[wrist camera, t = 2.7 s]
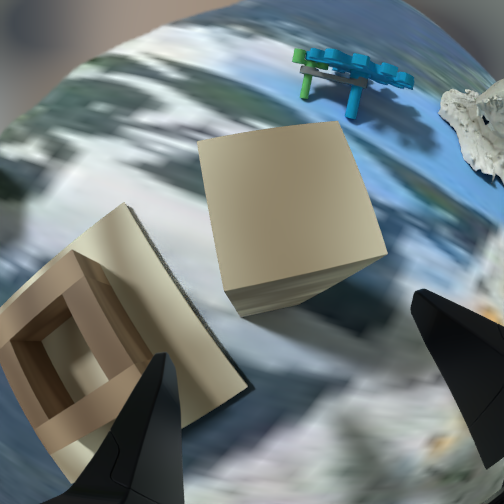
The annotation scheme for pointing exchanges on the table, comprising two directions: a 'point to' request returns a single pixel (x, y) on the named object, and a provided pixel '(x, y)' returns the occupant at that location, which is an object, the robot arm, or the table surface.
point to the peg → (287, 214)
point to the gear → (355, 66)
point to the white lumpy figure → (478, 126)
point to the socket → (104, 340)
